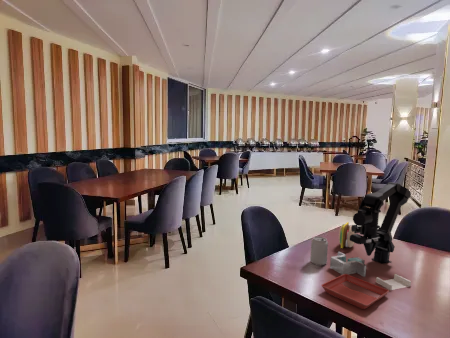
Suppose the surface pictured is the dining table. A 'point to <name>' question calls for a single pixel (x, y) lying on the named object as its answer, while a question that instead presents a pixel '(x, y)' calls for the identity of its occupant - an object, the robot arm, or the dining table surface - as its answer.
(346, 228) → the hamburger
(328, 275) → the dining table surface
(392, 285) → the white flat channel piece
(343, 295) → the plant saucer
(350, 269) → the bracket
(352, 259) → the plug
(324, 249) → the can
